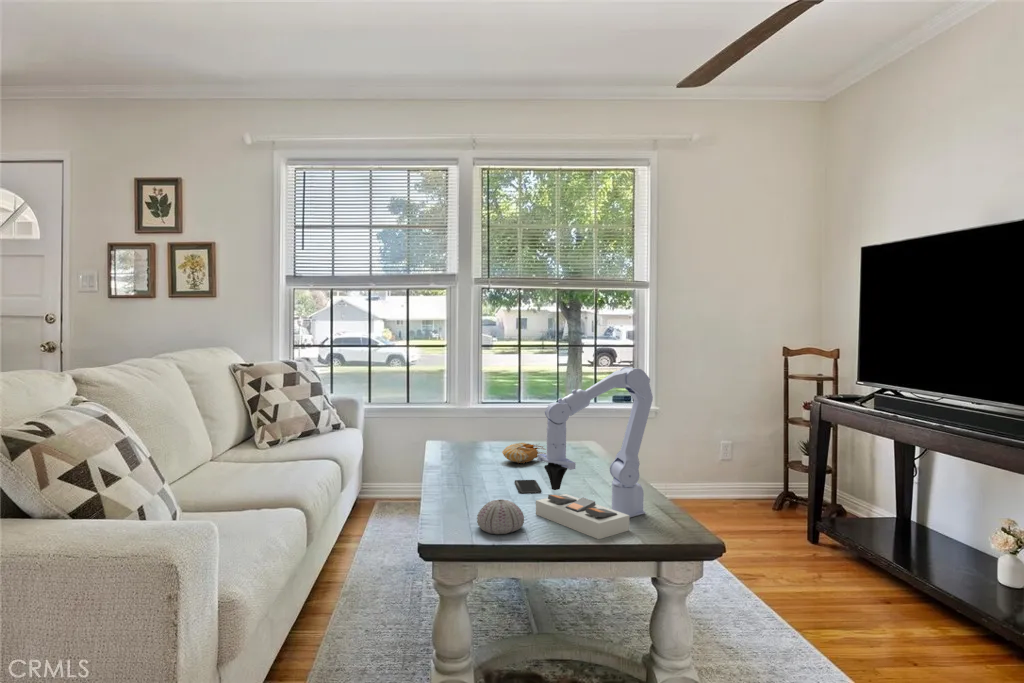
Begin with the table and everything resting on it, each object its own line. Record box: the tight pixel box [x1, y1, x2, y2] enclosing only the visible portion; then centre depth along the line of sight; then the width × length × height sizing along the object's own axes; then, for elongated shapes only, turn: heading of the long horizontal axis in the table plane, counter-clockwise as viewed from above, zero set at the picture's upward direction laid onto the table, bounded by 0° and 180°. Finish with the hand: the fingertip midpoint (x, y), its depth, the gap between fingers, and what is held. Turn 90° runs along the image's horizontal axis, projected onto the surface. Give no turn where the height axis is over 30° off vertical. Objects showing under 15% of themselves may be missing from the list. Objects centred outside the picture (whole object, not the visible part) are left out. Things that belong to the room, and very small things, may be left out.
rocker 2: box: [586, 508, 617, 518], centre depth 162 cm, size 7×5×2 cm
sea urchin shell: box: [476, 498, 525, 535], centre depth 163 cm, size 13×14×8 cm
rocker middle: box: [566, 497, 597, 512], centre depth 169 cm, size 7×5×2 cm
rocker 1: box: [547, 494, 577, 504], centre depth 175 cm, size 7×5×2 cm
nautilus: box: [501, 442, 547, 464], centre depth 246 cm, size 8×22×15 cm
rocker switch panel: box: [535, 493, 630, 540], centre depth 169 cm, size 12×26×4 cm, turn 37°
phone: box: [514, 479, 542, 494], centre depth 206 cm, size 8×1×15 cm
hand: (555, 489), depth 174 cm, fingers closed
